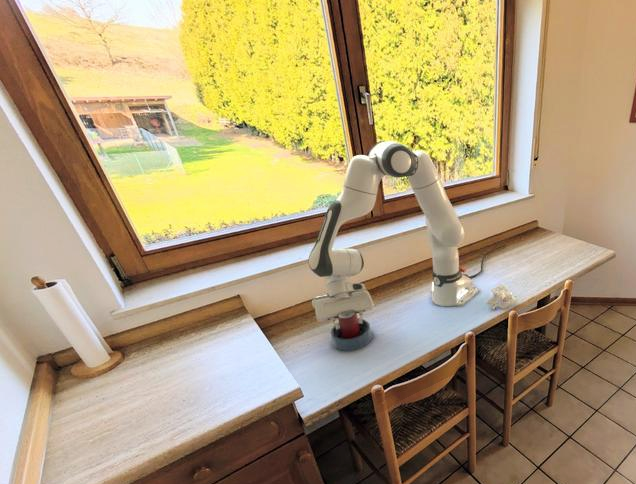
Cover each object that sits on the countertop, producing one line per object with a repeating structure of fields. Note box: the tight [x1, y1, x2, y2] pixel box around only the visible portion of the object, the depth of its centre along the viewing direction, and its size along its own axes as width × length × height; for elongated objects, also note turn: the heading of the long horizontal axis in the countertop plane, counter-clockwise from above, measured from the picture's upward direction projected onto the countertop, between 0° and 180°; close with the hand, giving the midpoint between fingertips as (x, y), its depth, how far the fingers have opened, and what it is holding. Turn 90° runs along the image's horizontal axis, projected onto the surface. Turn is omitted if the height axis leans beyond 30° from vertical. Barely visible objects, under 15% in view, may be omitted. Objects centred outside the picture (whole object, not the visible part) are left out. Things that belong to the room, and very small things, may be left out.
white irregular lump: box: [485, 283, 518, 310], centre depth 155 cm, size 12×9×10 cm
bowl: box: [330, 318, 373, 352], centre depth 133 cm, size 14×14×6 cm
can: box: [337, 310, 361, 339], centre depth 131 cm, size 6×6×12 cm
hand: (349, 326), depth 130 cm, fingers closed on can, 6 cm apart
